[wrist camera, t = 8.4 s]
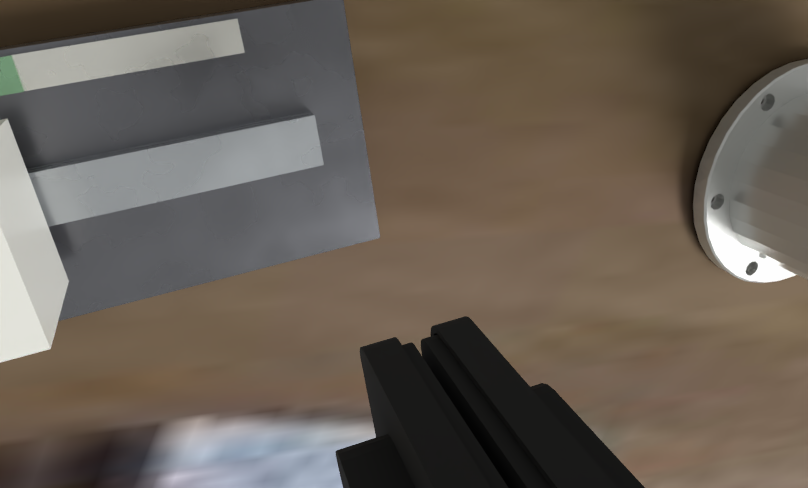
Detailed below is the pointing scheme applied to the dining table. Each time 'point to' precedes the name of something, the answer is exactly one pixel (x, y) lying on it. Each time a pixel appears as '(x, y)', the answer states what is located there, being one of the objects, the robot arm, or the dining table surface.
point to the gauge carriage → (25, 260)
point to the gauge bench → (192, 147)
